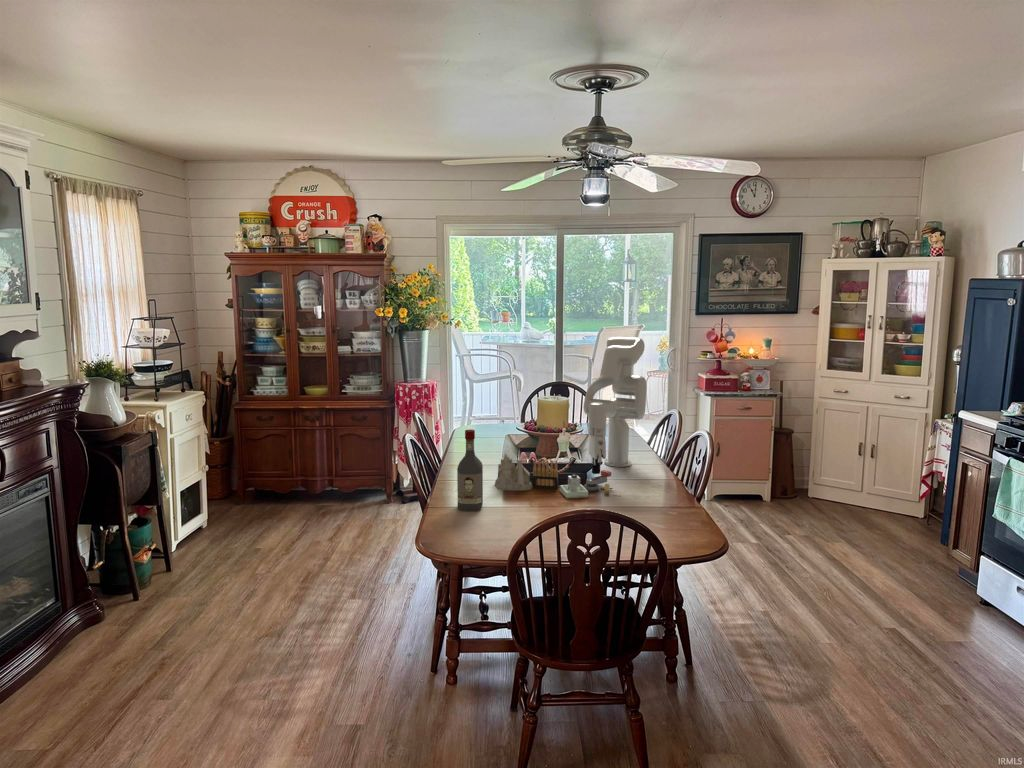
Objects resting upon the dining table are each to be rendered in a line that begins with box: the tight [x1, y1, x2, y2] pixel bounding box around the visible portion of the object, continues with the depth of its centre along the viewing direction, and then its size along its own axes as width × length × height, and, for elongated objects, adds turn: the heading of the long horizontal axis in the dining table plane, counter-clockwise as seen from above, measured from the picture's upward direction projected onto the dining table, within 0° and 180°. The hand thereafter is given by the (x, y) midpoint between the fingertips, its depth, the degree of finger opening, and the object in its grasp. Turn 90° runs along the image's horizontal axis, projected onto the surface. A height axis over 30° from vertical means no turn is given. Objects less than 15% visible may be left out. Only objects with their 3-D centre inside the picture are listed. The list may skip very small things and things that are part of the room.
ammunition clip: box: [532, 459, 559, 490], centre depth 284 cm, size 11×2×12 cm, turn 79°
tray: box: [559, 483, 589, 499], centre depth 277 cm, size 10×9×2 cm
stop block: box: [567, 474, 581, 492], centre depth 276 cm, size 4×4×7 cm
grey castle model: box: [494, 453, 533, 492], centre depth 288 cm, size 16×16×15 cm
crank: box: [585, 469, 612, 487], centre depth 284 cm, size 12×4×4 cm, turn 131°
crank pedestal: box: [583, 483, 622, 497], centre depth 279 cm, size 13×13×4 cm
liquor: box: [456, 429, 484, 512], centre depth 258 cm, size 9×9×30 cm
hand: (595, 473), depth 292 cm, fingers closed
